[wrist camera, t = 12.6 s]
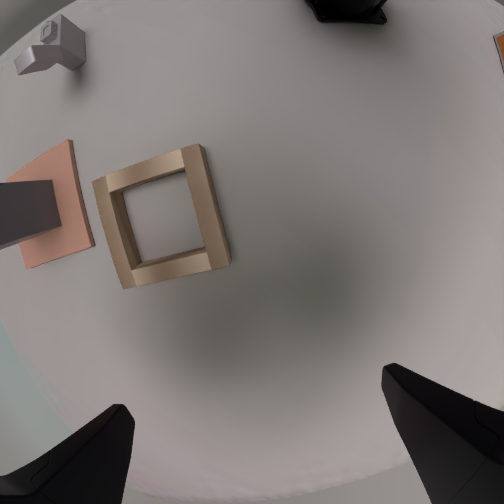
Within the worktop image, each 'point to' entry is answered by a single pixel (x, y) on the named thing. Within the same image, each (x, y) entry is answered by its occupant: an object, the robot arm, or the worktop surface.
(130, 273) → the wooden square frame
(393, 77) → the worktop surface
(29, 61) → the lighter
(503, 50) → the skincare box
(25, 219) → the dark grey block
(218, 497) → the worktop surface
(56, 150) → the tile
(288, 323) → the worktop surface
